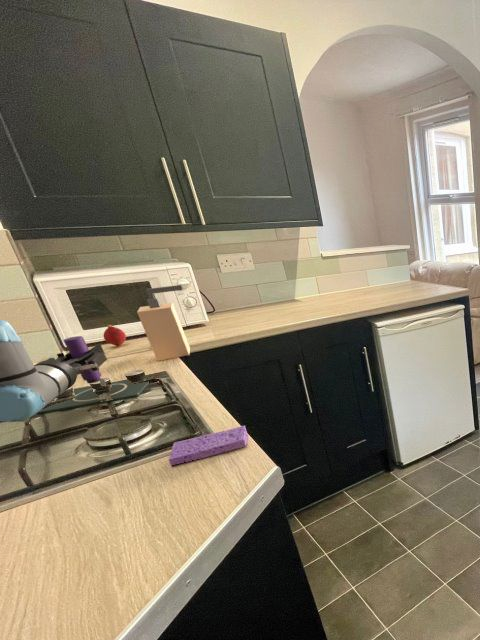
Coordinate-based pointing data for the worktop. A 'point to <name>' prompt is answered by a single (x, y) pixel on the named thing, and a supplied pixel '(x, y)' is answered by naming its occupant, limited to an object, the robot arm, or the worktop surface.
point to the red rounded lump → (114, 335)
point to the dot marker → (77, 350)
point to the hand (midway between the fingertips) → (90, 350)
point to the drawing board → (90, 398)
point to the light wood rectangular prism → (163, 326)
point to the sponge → (208, 445)
